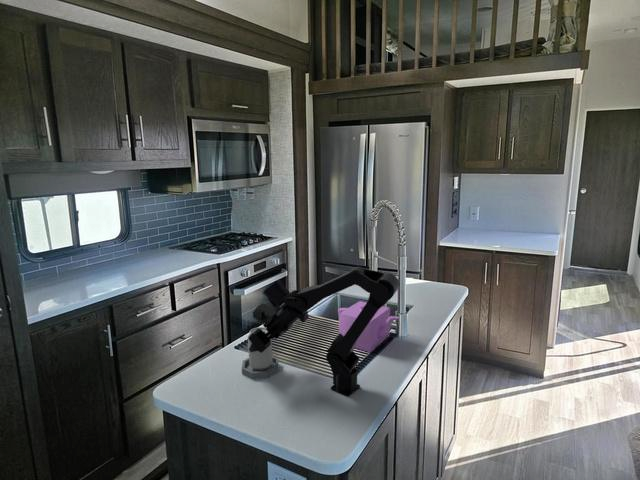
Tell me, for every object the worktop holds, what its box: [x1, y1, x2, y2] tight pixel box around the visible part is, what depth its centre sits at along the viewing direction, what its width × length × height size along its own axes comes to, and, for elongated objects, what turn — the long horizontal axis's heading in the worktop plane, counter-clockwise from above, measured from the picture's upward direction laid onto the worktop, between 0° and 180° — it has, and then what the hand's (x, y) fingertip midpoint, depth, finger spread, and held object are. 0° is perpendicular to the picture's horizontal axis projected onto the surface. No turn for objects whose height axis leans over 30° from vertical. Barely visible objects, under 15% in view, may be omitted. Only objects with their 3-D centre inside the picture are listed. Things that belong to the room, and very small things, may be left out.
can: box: [247, 326, 273, 370], centre depth 135 cm, size 8×8×12 cm
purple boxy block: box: [337, 300, 400, 353], centre depth 154 cm, size 15×25×14 cm, turn 55°
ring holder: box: [241, 355, 280, 380], centre depth 137 cm, size 12×12×2 cm
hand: (256, 345), depth 136 cm, fingers closed on can, 7 cm apart
